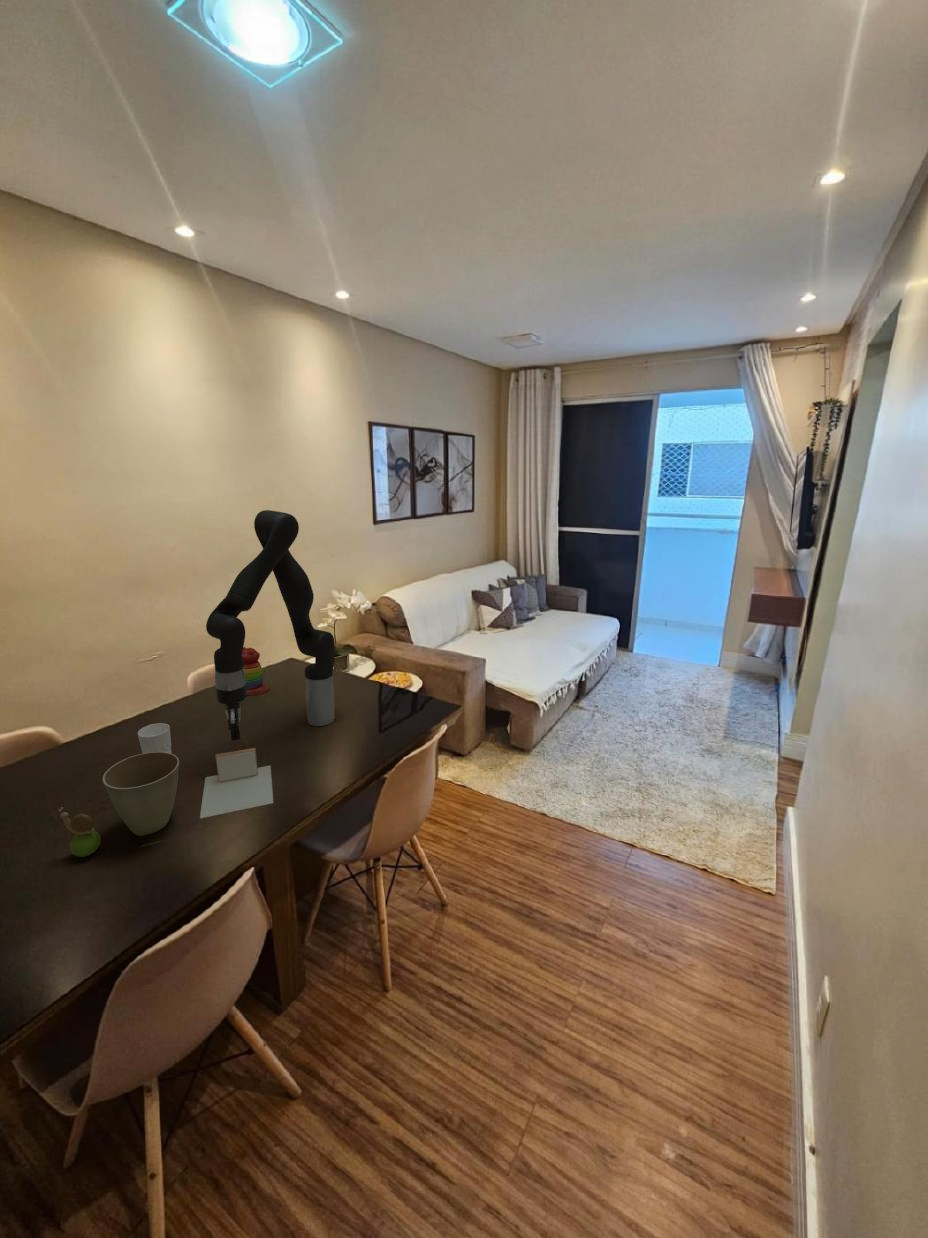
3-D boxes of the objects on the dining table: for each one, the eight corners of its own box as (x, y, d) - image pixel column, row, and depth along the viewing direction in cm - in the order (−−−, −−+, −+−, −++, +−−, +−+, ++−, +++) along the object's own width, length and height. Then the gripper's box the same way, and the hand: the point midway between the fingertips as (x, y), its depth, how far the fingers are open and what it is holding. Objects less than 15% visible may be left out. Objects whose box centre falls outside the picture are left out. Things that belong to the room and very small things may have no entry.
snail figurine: (78, 844, 110) (68, 800, 106) (108, 844, 110) (98, 799, 107) (61, 863, 104) (50, 817, 101) (92, 862, 105) (82, 816, 102)
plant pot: (133, 858, 107) (122, 797, 102) (102, 831, 114) (90, 773, 109) (199, 820, 119) (191, 764, 114) (167, 798, 126) (158, 744, 122)
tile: (218, 779, 134) (215, 754, 131) (257, 772, 138) (255, 747, 135) (218, 782, 132) (215, 757, 130) (257, 775, 136) (255, 750, 134)
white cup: (179, 756, 144) (175, 727, 141) (154, 770, 137) (149, 739, 135) (162, 750, 147) (158, 720, 145) (136, 762, 141) (131, 732, 138)
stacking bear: (271, 691, 189) (268, 649, 184) (245, 698, 182) (241, 655, 177) (259, 682, 196) (255, 641, 191) (234, 689, 189) (229, 647, 184)
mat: (205, 779, 135) (205, 777, 134) (270, 767, 141) (270, 765, 141) (200, 820, 119) (199, 818, 119) (273, 804, 125) (273, 803, 125)
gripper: (217, 676, 138) (222, 730, 143) (214, 695, 127) (220, 753, 131) (245, 673, 141) (249, 726, 146) (245, 691, 129) (250, 748, 134)
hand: (235, 739), depth 139 cm, fingers closed
